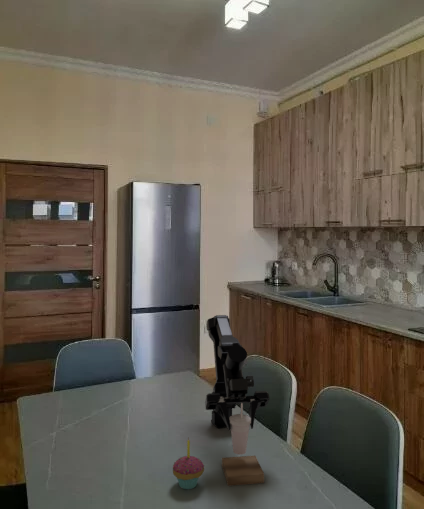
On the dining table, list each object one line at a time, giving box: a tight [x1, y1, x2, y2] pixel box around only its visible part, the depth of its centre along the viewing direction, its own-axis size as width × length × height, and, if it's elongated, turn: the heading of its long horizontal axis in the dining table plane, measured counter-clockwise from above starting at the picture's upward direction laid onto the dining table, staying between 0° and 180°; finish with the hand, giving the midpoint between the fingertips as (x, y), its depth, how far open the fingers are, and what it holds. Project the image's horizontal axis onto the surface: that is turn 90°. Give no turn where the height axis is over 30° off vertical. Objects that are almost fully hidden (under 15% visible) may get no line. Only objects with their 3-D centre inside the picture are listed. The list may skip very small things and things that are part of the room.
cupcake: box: [172, 436, 205, 490], centre depth 114 cm, size 9×8×12 cm
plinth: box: [221, 455, 265, 487], centre depth 120 cm, size 10×10×2 cm
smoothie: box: [229, 403, 251, 455], centre depth 123 cm, size 6×6×14 cm
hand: (240, 429), depth 121 cm, fingers closed on smoothie, 6 cm apart
